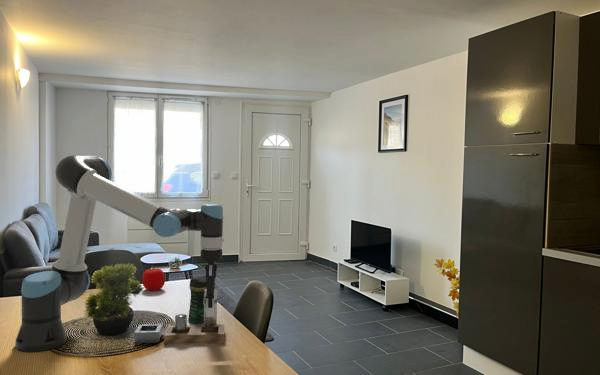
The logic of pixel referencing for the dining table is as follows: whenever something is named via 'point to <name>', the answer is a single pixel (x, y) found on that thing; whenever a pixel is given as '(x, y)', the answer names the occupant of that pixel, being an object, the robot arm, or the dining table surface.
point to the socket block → (148, 333)
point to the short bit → (181, 323)
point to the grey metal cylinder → (212, 321)
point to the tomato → (153, 279)
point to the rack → (194, 335)
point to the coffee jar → (197, 299)
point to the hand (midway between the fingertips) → (210, 313)
